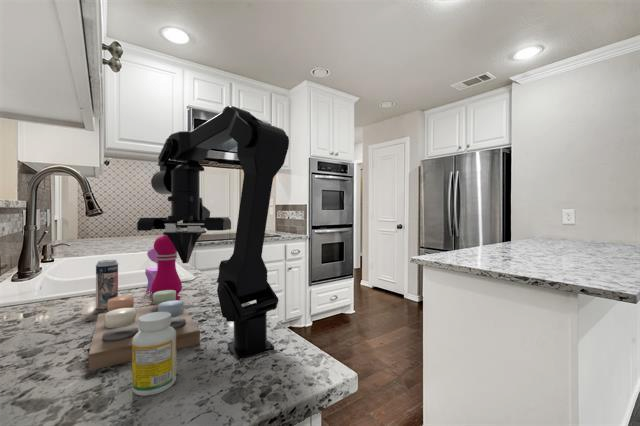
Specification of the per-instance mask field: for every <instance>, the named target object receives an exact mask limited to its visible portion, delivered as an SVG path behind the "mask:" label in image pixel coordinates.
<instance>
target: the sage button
mask: <svg viewBox="0 0 640 426" xmlns="http://www.w3.org/2000/svg"><path fill="white" fill-rule="evenodd" d="M152 295H153V296H152V300H153V302H152V304H157V305H159V304H160V303H163V302H167V301H174V300H176V291H175V290H163V291H158V292H155V293H153V294H152Z"/></svg>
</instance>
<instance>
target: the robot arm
mask: <svg viewBox="0 0 640 426" xmlns="http://www.w3.org/2000/svg"><path fill="white" fill-rule="evenodd" d="M232 139H233V140H234V141H235V142H236V144H237V147H236V148H237V150H236V157H237V159H238V162H239V164H240V166H241V169H242V171H243V179H242V180H243V181H242V187H241V195H240V201H239V209H238V216H237V224H236V229H235V230H236V231H235V232H236V233H235V238H234V246H233V252H232V255H231V256H230V258H229V259H224V260H221V261H220V263H219V266H218V276H217V279H216V283H217V289H216V291H217V296H218V297H217V298H218V301H219V306H220V311H221V316H222V318H224V319H225V321H226V322H233V341H228V342H227V348H228V349H229V350H230V352H232V354H233V355H234V356H235V357H236V358H237V359H238V360H243V359H247V358H250V357H252V356H257V355H260V354H264V353H267V352H271V351H274V350H275V345H274V344H272V342H270V341H269V339H268V338H267V337H268V336H267V335H268V332H267V331H268V327H267V322H268V321H267V320H268V318H267V316H268V314H267V313H268V312H271V311H273V310H274V311H275V310H276V309H277V307H278V305H279V304H278V303H279V297H278V296H277V295H276V293H275V291H274V289H273V288H272V286H271V285H270V283H269V282H268V269H267V266H266V264H265V261H264V259H263V249H264V244H265V243H264V242H265V237H266V236H265V233H266V228H267V220H268V217H269V215H268V214H269V208H270V203H271V202H270V201H271V195H272V189H273V188H272V187H273V181H274V179H275V176H276V175H277V174H278V173H279V171H281V168H282V167H283V165H284V164H285V161H286V157H287V154H288V150H289V148H290V147H289V146H290V139H289V136H288V135H287V133H286V131H285V130H284V129H283V128H280V127H277V126H275V125H271V124H269V123H266V122H264V121H262V120H261V119H259V118H257V117H256V116H255V115H253V114H252V113H251V112H250V111H246V109H245V110H244V109H242V108H240V107H236V106H233V105H231V106H229V105H227V106H226V107H224V108H223V110H222V112H221V113H219V114H217V115H216V116H214V117H212V118H211V119H209V120H207V121H206V122H204V123H202V124H201V125H199V126H198V127H196V128H195V129H193V130H188V131H187V130H185V131H184V130H183V131H176V132H173V133H171V134H170V135H169V136H168V138H166V139H165V142H164V144H163V146H162V148H161V150H160V153H159V155H158V157H157V159H158V163H157V166H158V167H159V171H156V172H155V173H154V174H153V175H152V177H151V180H150V184H151V187H152V188H153V189H152V190H154V192H155V193H158V194H160V195H169V196H167V202H170V205H171V206H170V207H171V208H170V213H171V214H170V215H167V217H140V218H139V219H138V220H137V222H136V231H137V232H138V231H141V232H143V231H146V232H148V231H152V230H165V232H163V231H162V234H163V235H162V236H164V235H167V236H168V237H169V239H170V240H171V242H172V243H173V245H174V247H175V249H176V250H177V255H178V257H179V258H180V260H181V262H182V264H189V262H190V260H191V256H192V254H193V251H194V249H195V246H196V244H197V242H198V240H199V239H200V237H201V236H202V235H203V234H206V233H207V231H208V232H209V231H210V232H211V231H212V232H214V231H216V232H217V231H228V230H232V221H231V219H230V217H228V216H226V217H224V216H222V217H221V216H219V217H217V216H216V217H215V216H214V217H210V216H211V211H210V210H209V209H208V208H207V207H206V206H204V204H203V198H202V197H200V188H201V187H200V186H201V185H200V181H201V180H200V177H201V176H200V174H201V173H200V172H204V171H205V167H204V166H203V165H202V164H201V163H202V161H204V160H205V159H207V158H208V154H209V153H208V152H210V151H211V150H212V149H214V148H216V147H219V146H221V145H222V144H224V143H226V142H227V141H230V140H232ZM181 221H182V222H181ZM185 229H187V230H185ZM253 301H256V302H254V303H251V304H247V303H250V302H253ZM244 304H247V305H245V306H243V305H244Z"/></svg>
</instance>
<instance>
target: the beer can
mask: <svg viewBox="0 0 640 426" xmlns="http://www.w3.org/2000/svg"><path fill="white" fill-rule="evenodd" d="M114 297H119V262H118V261H117V260H116V259H104V260H103V259H102V260H98V261H97V263H96V265H95V308H96V309H99V310H108V300H109V299H111V298H114Z"/></svg>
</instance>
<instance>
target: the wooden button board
mask: <svg viewBox="0 0 640 426" xmlns="http://www.w3.org/2000/svg"><path fill="white" fill-rule="evenodd" d="M134 309H135V322H134V323H132V324H130V325H127V326H123V327H117V328H108V327H106V326H105V314H106V313H107V312H103V313H98V315H97V319H96V322H95V323H96V324H95V327H94V332H93V336H92V340H91V343H90V348H89V352H88V372H90V371H93V370H98V369H101V368H102V369H103V368H106V367H111V366H115V365H118V364H119V365H120V364H124V363H128V362H132V341H133V338H134V336H135V335H136V334H137V333H138V332H139V331H141V330H139V328H138V319H139V317H141V316H143V315H145V314H148V313H153V312H158V305H154V306H153V305H150V306H149V305H147V306H142V307H137V308H136V307H135V308H134ZM169 326H171V327H173V328H174V329H175V331H176V351H177V350H181V349H185V348H188V347H192V346H197V345H200V344H201V330H200V328H199V327H198V326H197V324H196V322H195V321H194V319H193V318H192V317H191V315H190V314H189V312H188V311H187V309H186V307H184V313H183V314H182V315H180V316H177V317H172V318H171V324H170V325H169Z"/></svg>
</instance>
